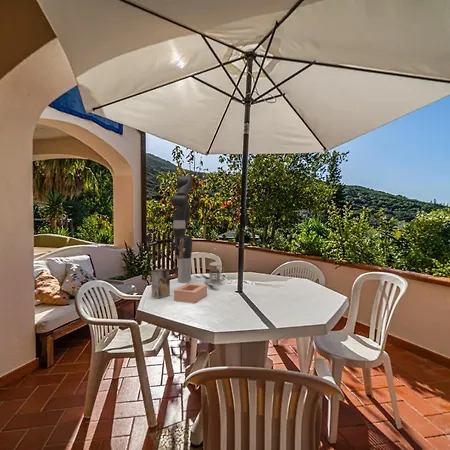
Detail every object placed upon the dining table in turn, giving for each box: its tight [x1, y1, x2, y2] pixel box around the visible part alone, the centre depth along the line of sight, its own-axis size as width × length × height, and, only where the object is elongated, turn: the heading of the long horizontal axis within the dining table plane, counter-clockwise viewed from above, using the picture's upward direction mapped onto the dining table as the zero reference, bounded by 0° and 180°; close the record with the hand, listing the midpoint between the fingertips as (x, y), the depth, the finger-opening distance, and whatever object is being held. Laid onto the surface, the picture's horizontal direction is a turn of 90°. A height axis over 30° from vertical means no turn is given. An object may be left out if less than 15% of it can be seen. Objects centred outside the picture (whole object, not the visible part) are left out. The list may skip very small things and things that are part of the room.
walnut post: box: [173, 243, 184, 260], centre depth 198 cm, size 4×4×10 cm
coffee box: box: [150, 267, 171, 299], centre depth 189 cm, size 9×6×16 cm
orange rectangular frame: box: [173, 282, 208, 304], centre depth 187 cm, size 18×13×6 cm
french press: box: [207, 247, 225, 286], centre depth 223 cm, size 10×12×25 cm
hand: (178, 254), depth 198 cm, fingers closed on walnut post, 4 cm apart
